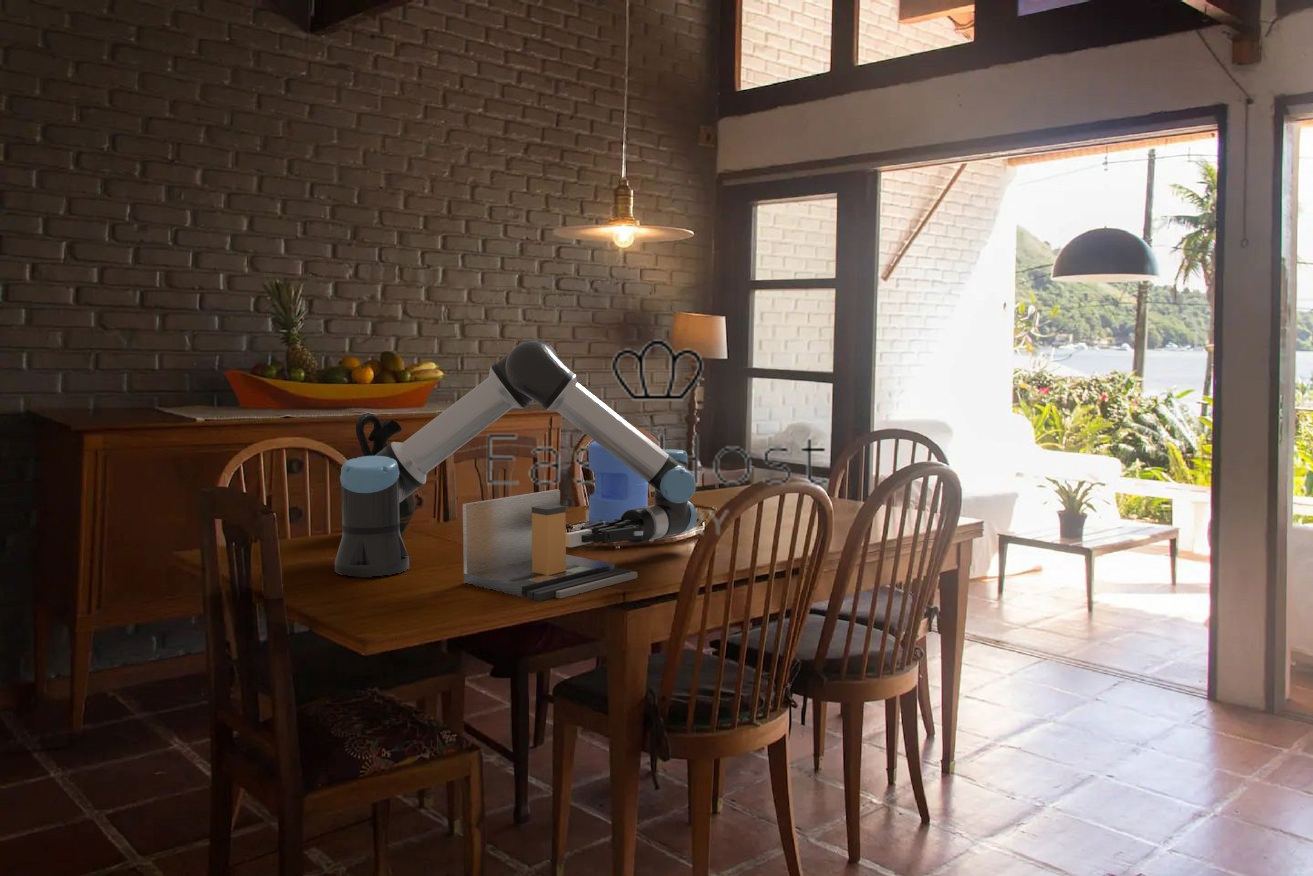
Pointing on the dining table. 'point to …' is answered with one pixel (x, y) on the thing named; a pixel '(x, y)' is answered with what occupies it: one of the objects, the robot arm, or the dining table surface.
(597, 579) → the long grooved rail
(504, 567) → the l-shaped metal bracket
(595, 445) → the water jug
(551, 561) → the lever
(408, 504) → the ceramic jug
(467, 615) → the dining table surface
